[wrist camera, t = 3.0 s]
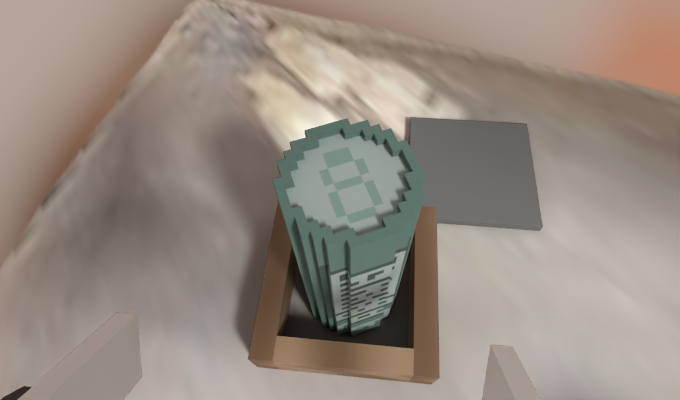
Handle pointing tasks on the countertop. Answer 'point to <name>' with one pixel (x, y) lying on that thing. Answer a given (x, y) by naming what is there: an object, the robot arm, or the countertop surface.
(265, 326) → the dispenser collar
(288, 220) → the can
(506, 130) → the mat
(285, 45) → the countertop surface
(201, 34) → the countertop surface
